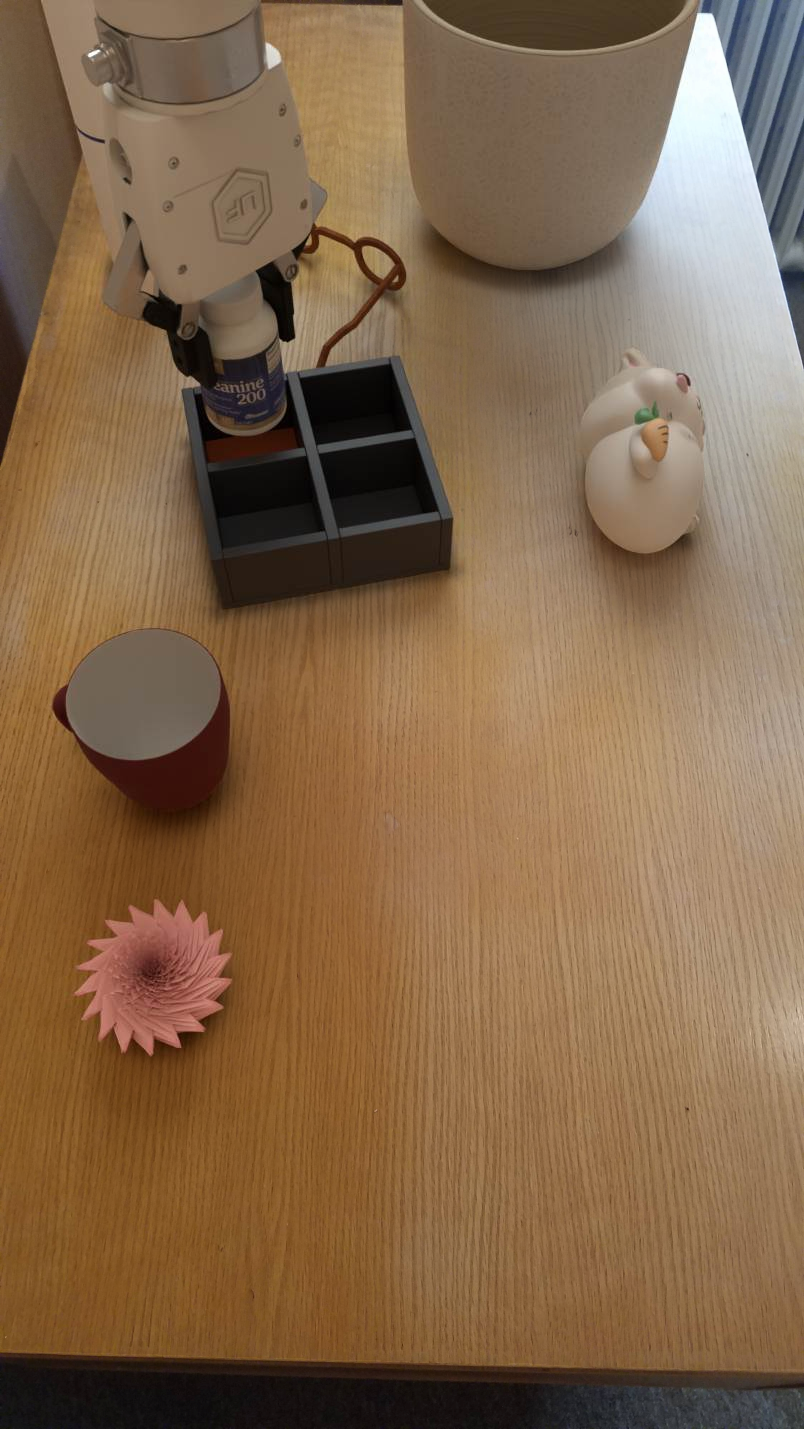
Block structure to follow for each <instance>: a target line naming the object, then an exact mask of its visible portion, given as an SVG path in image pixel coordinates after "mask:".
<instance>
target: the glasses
mask: <svg viewBox="0 0 804 1429" xmlns="http://www.w3.org/2000/svg"><path fill="white" fill-rule="evenodd" d="M320 236H322V237H325V238H328V239H330V240H332V241H335V242H337V243H339V244H342V245H344V246H346V247H347V248H349V249H350V250H351V251H353V254H354V257H355V260H356V264H357V265H358V267H359V270H360V271H361V272H362V274H363V275H364V276H365V278H367V279H368V280H369V281H370V282H371V283H373V284H374V285H376V286H377V287H376V289H375V290H374V291H373V292H372V294H370V296H369V297H368V299H367V300H366V301H365V303H364V304H363V305H362V306H361V308H360V309H359V310H358V311H357V313H356V314H355V315H354V317H353V318H352V319H351V320H350V321H348V322H347V323H345V324H344V325H343V326H341V327H340V328H339V329H337V331H335V333H334V334H332V336H331V337H330V338H329V339H328V340H327V341H326V342H325V343H324V344H323V345H322V348H321V351H320V354H319V356H318V359H317V361H316V365H315V368H320V367H326V365H327V362H328V358H329V355H330V352H331V350H332V349H333V348H334V347H335V346H336V345H337V344H338V343H339V342H340V341H341V340H342V339H344V337H346V336H347V335H348V334H349V333H352V331H354V330H356V329H357V328H358V326H359V325H360V324H361V323H362V321H363V320H364V319H365V318H366V316H368V314H369V312H370V311H371V310H372V309H373V307H375V305H376V303H377V302H378V300H380V299H381V297H382V296H383V294H384V293H385V292H386V291H391V292H397V291H400V290H401V289H402V288H403V287H404V286H405V284H406V282H407V269H406V266H405V265H404V264H405V263H404V262H403V260H402V258H401V257H400V256H399V254H398V252H396V251H395V250H394V248H392V247H391V246H390V245H389V244H387V243H386V242H384V241H382V240H381V239H378V238H375V237H373V236H362V237H360V238H357V239H356V240H355V241H354V240H352V239H351V238H350V237H348V236H346V234H343V233H340V232H338V231H335V230H333V229H331V228H329V227H326V226H322V225H321V226H317V225H316V223H315V222H314V224H313V225H312V228H311V232H310V239H311V243H310V244H309V245H306V244H305V246H304V248H303V250H302V252H301V254H304V255H305V254H306V255H312V254H314V253H315V252H316V251H317V250H318V249H319V246H320ZM365 247H372V248H375V249H377V250H379V251H381V252H382V253H384V254H385V255H386V256H388V258H389V259H390V260H391V261H392V263H393V264H394V265H393V267H392V268H391V269H390V270H389V272H388V273H387V275H386V276H385V277H384V278H381V277H380V276H378V275H377V274H375V273H374V272H373V270H371V269H370V268H369V266H368V265H367V262H366V261H365V257H364V255H363V248H365ZM396 278H397V280H396V281H394V280H395V279H396Z"/></svg>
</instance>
